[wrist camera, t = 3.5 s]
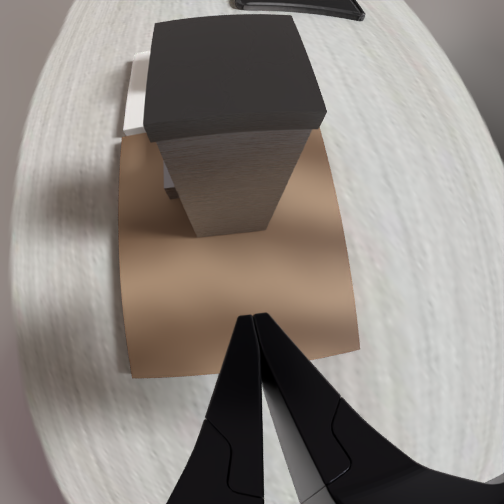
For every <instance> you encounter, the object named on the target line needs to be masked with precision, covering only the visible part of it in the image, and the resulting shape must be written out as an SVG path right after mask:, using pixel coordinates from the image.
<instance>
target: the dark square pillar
mask: <svg viewBox="0 0 504 504" xmlns="http://www.w3.org/2000/svg"><path fill="white" fill-rule="evenodd" d="M326 113H327V110H326V107H325V104H324V101H323V98H322V95H321V92H320V89H319V86H318V83H317V80H316V77H315V74H314V71H313V69H312V66H311V63H310V61H309V58H308V55H307V53H306V50H305V47H304V45H303V42H302V40H301V37H300V35H299V32H298V30H297V28H296V25H295V23H294V21H293V18H292V16H291V15H269V14H242V15H219V16H206V17H196V18H187V19H179V20H172V21H166V22H160V23H155V26H154V32H153V38H152V45H151V51H150V58H149V66H148V74H147V83H146V93H145V104H144V116H143V126H144V129H145V131H146V133H147V136H148V138H149V140H150V142H151V143H152V142H156V143H157V146H158V148H159V151H160V153H161V155H162V158H163V160H164V163H165V165H166V167H167V170H168V172H169V174H170V177H171V179H172V181H173V184H174V186H175V188H176V191H177V193H178V195H179V197H180V200H181V202H182V204H183V207H184V209H185V211H186V213H187V215H188V218H189V220H190V222H191V224H192V227H193V229H194V231H195V233H196V235H197V238H198V237H207V236H216V235H226V234H235V233H244V232H254V231H264V230H266V229H267V227H268V224H269V222H270V220H271V218H272V216H273V214H274V211H275V209H276V207H277V205H278V203H279V201H280V198H281V196H282V194H283V192H284V190H285V188H286V185H287V183H288V181H289V179H290V177H291V175H292V172H293V170H294V168H295V166H296V164H297V162H298V159H299V157H300V155H301V153H302V151H303V149H304V146H305V144H306V142H307V140H308V138H309V136H310V133H311V131H312V129H319V127H320V125H321V123H322V121H323V119H324V117H325V115H326Z"/></svg>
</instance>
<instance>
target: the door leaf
mask: <svg viewBox="0 0 504 504" xmlns="http://www.w3.org/2000/svg"><path fill="white" fill-rule="evenodd" d="M118 237H119V265H120V282H121V295H122V306H123V316H124V325H125V333H126V341H127V348H128V355H129V362H130V368H131V374H132V378H162V377H181V376H195V375H207V374H218V373H220V370H221V366H222V363H223V360H224V357H225V354H226V351H227V348H228V345H229V342H230V339H231V335H232V332H233V329H234V326H235V323H236V320H237V317H238V316H240V315H248V314H251V315H252V316H253V315H254V314H256V313H264V312H267V313H269V314H270V316H271V317H272V318H273V319H274V320H275V321H276V323H277V324H278V325H279V326H280V327H281V328H282V330H283V331H284V332H285V333H286V334H287V335H288V336H289V338H290V339H291V340H292V341H293V342H294V343H295V345H296V346H297V347H298V348H299V349H300V350H301V351H302V353H303V354H304V355H305V356H306V357H307V358H308V359H309V360H314V359H319V358H324V357H329V356H333V355H338V354H342V353H347V352H351V351H356V350H360V343H359V333H358V324H357V315H356V307H355V299H354V292H353V285H352V278H351V272H350V265H349V259H348V253H347V247H346V242H345V236H344V231H343V226H342V220H341V215H340V210H339V206H338V201H337V196H336V192H335V187H334V183H333V178H332V174H331V170H330V166H329V162H328V157H327V153H326V150H325V146H324V142H323V138H322V134H321V131H320V127H319V129H312V131H311V133H310V136H309V138H308V140H307V142H306V144H305V146H304V149H303V151H302V153H301V155H300V157H299V159H298V162H297V164H296V166H295V168H294V170H293V172H292V175H291V177H290V179H289V181H288V183H287V185H286V188H285V190H284V192H283V194H282V196H281V198H280V201H279V203H278V205H277V207H276V209H275V211H274V214H273V216H272V218H271V220H270V222H269V224H268V227H267V229H266V230H264V231H254V232H244V233H235V234H226V235H216V236H207V237H198V238H197V235H196V233H195V231H194V229H193V227H192V224H191V222H190V220H189V218H188V215H187V213H186V211H185V209H184V207H183V204H182V202H181V200H180V198H177V199H169V197H168V195H167V193H166V191H165V190H164V165H163V158H162V155H161V153H160V151H159V148H158V146H157V143H156V142H152V143H151V142H150V140H149V138H148V136H147V133H141V134H135V135H130V136H125V137H122V142H121V155H120V171H119V200H118Z"/></svg>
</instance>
